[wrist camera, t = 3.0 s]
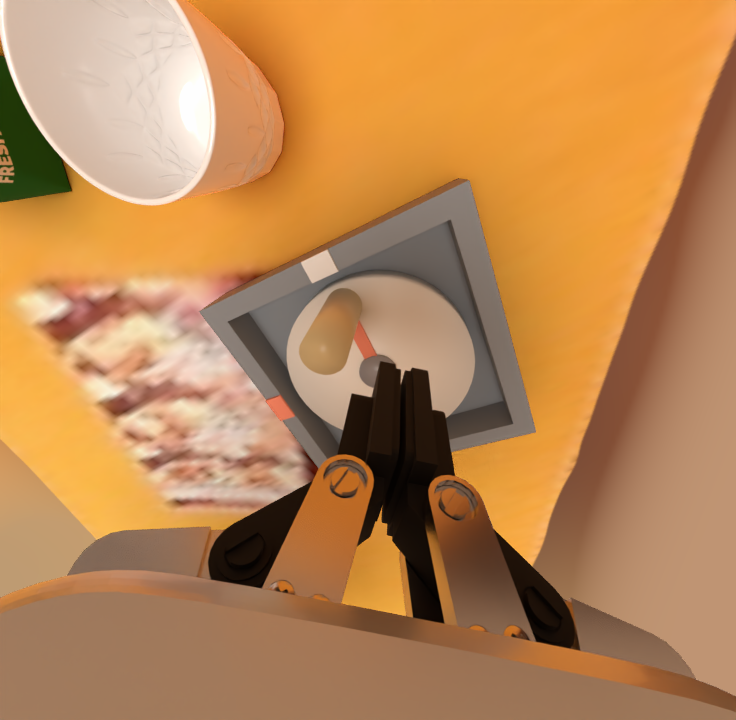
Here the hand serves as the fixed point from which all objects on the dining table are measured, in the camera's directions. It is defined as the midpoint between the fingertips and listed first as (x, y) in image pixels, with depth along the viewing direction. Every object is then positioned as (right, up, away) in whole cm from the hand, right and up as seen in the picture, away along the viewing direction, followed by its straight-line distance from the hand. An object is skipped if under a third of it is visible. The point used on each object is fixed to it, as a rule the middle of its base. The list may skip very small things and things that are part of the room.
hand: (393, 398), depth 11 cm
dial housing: (0, +2, +17) cm, 17 cm away
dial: (0, +2, +16) cm, 16 cm away
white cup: (-10, +17, +9) cm, 21 cm away
